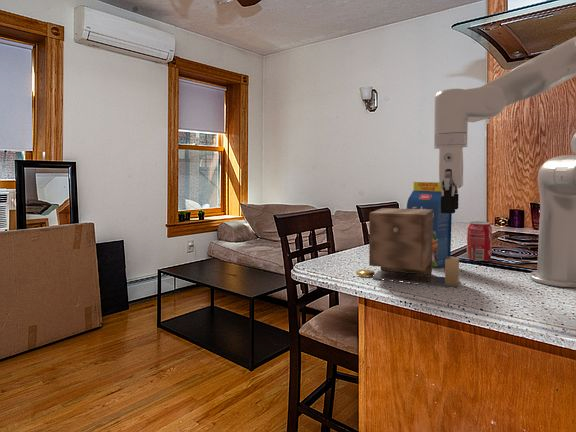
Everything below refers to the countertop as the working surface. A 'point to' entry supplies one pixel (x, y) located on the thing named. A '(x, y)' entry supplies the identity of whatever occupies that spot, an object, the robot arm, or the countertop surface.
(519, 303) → the countertop surface
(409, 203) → the blue food package
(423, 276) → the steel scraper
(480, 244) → the soda can
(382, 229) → the walnut cabinet
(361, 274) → the brass token
